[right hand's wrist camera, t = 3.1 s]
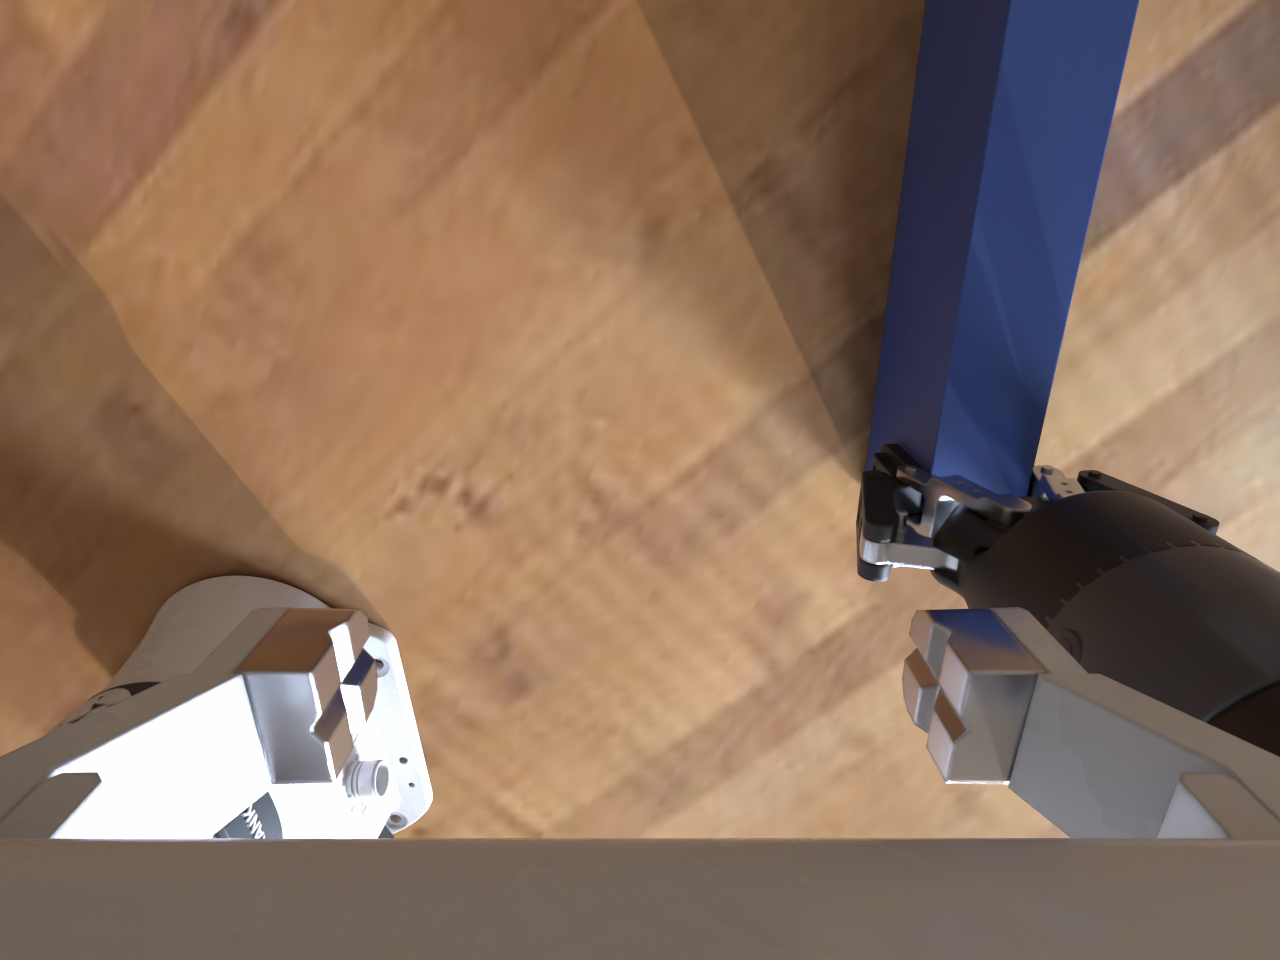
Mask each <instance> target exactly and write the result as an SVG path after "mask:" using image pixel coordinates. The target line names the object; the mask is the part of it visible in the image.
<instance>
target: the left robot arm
mask: <svg viewBox="0 0 1280 960" xmlns="http://www.w3.org/2000/svg"><path fill="white" fill-rule="evenodd" d="M922 494H923V496H924V499H925V503H924V509H923V511H921V510H919V508H920V502H921V496H922ZM959 503H960V504H959ZM1218 526H1219V522H1218V521H1217V520H1216V519H1214V518H1212V517H1209V516H1207V515H1205V514H1202V513H1199V512H1197V511H1195V510H1192V509H1190V508H1187V507H1185V506H1182V505H1180V504H1177V503H1175V502H1172V501H1170V500H1168V499H1165V498H1163V497H1160V496H1158V495H1155V494H1153V493H1150V492H1148V491H1145V490H1143V489H1141V488H1138V487H1136V486H1133V485H1131V484H1128V483H1126V482H1123V481H1121V480H1119V479H1116V478H1114V477H1111V476H1109V475H1106V474H1104V473H1101V472H1099V471H1095V470H1089V471H1080V472H1079V474H1078V478H1077V480H1076V478H1068V477H1065V476H1064V474H1063V473H1062V471H1060V470H1059V469H1056V468H1054V467H1052V466H1048V465H1042V466H1034V467H1033V471H1032V476H1031V480H1030V484H1029V489H1028V493H1027V497H1016V496H1014V495H1012V494H1009V493H1007V494H1000V495H999V494H997V493H994V492H992V491H990V490H988V489H986V488H984V487H982V486H980V485H978V484H976V483H974V482H972V481H970V480H968V479H966V478H964V477H961V476H959V475H951V476H944V477H938V476H936V475H934V474H932V473H930V472H928V471H926V470H924V469H922V468H921V466H920V465H919V464H918V463H917V462H916V461H915V460H914V459H913V458H912V457H911V456H910V455H909V454H908V453H907V452H906V451H904V450H903V449H902V448H901V447H900V446H899V445H898V444H883V445H882V447H881V452H875V454H874V460H873V468H872V471H865V472H863V474H862V482H861V489H860V497H859V504H858V512H857V520H856V532H857V569H858V574H859V576H861V577H862V578H864V579H866V580H870V581H876V582H881V581H885V580H887V579H888V578H889V575H890V568H891V567H898V566H899V565H900V566H908V567H916V568H924V569H930V571H931V573H932V575H933V577H934V578H935V579H936V580H937V581H938V582H939V583H941V584H942V585H944V586H946V587H948V588H950V589H951V590H953V591H955V592H956V593H958V594H959V595H961V596H962V597H963V598H964V599H965V601H966V603H967V606H968V608H969V609H985V608H1007V607H1020V608H1023V609H1025V610H1028V611H1029V612H1030V613H1031V614H1032V615H1033V616H1034V617H1035V618H1036V619H1037V621H1038V622H1039V623H1040V624H1041V625H1042V626H1043V627H1044V628H1045V629H1046V630H1047V631H1048V632H1049V633H1050V634H1051V635H1052V636H1053V637H1054V638H1055V639H1056V640H1057V641H1058V642H1059V643H1060V645H1061V646H1062V647H1063V648H1064V649H1065V650H1066V651H1067V652H1068V653H1069V654H1070V655H1071V656H1072V657H1073V658H1074V659H1075V660H1076V661H1077V662H1078V663H1079V664H1080V665H1081V666H1082V667H1083V668H1084V670H1085V671H1086V672H1087V673H1088V674H1101V675H1104V676H1106V677H1108V678H1110V679H1112V680H1114V681H1117V682H1119V683H1121V684H1123V685H1125V686H1127V687H1130V688H1132V689H1134V690H1136V691H1138V692H1140V693H1143V694H1145V695H1147V696H1149V697H1151V698H1153V699H1155V700H1158V701H1160V702H1162V703H1164V704H1166V705H1168V706H1171V707H1173V708H1175V709H1177V710H1179V711H1181V712H1184V713H1186V714H1188V715H1190V716H1192V717H1194V718H1196V719H1199V720H1201V721H1203V722H1205V723H1207V724H1209V725H1212V726H1214V727H1216V728H1218V729H1220V730H1222V731H1225V732H1227V733H1229V734H1231V735H1233V736H1235V737H1237V738H1240V739H1242V740H1244V741H1246V742H1248V743H1250V744H1253V745H1255V746H1257V747H1259V748H1261V749H1263V750H1266V751H1268V752H1270V753H1272V754H1274V755H1276V756H1279V757H1280V572H1278V571H1276V570H1275V569H1273V568H1271V567H1270V566H1268V565H1266V564H1265V563H1263V562H1261V561H1259V560H1258V559H1256V558H1254V557H1252V556H1251V555H1249V554H1247V553H1246V552H1244V551H1242V550H1240V549H1239V548H1237V547H1235V546H1234V545H1232V544H1230V543H1228V542H1227V541H1225V540H1223V539H1222V538H1220V537H1218V536H1217V535H1216V532H1217V529H1218Z"/></svg>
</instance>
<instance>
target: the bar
mask: <svg viewBox="0 0 1280 960" xmlns="http://www.w3.org/2000/svg"><path fill="white" fill-rule="evenodd" d="M1138 3H1139V0H926V5H925V13H924V21H923V29H922V36H921V44H920V52H919V60H918V67H917V75H916V83H915V90H914V98H913V106H912V114H911V121H910V129H909V137H908V144H907V152H906V160H905V168H904V175H903V183H902V191H901V198H900V206H899V214H898V222H897V229H896V237H895V245H894V252H893V260H892V268H891V276H890V283H889V291H888V299H887V307H886V314H885V322H884V330H883V337H882V345H881V353H880V361H879V368H878V376H877V384H876V391H875V399H874V407H873V415H872V422H871V430H870V438H869V445H868V453H867V461H866V469H865V471H872V468H873V460H874V454H875V452H881V447H882V445H883V444H898V445H899V446H900V447H901V448H902V449H903V450H904V451H906V452H907V453H908V454H909V455H910V456H911V457H912V458H913V459H914V460H915V461H916V462H917V463H918V464H919V465H920V466H921V468H922V469H924V470H926V471H928V472H930V473H932V474H934V475H936V476H938V477H944V476H951V475H959V476H961V477H964V478H966V479H968V480H970V481H972V482H974V483H976V484H978V485H980V486H982V487H984V488H986V489H988V490H990V491H992V492H994V493H997V494H999V495H1000V494H1007V493H1009V494H1012V495H1014V496H1016V497H1027V493H1028V489H1029V484H1030V480H1031V476H1032V471H1033V467H1034V462H1035V458H1036V454H1037V449H1038V445H1039V440H1040V436H1041V431H1042V427H1043V423H1044V418H1045V414H1046V409H1047V405H1048V401H1049V396H1050V392H1051V387H1052V383H1053V378H1054V374H1055V370H1056V365H1057V361H1058V356H1059V352H1060V348H1061V343H1062V339H1063V334H1064V330H1065V326H1066V321H1067V317H1068V312H1069V308H1070V303H1071V299H1072V295H1073V290H1074V286H1075V281H1076V277H1077V273H1078V268H1079V264H1080V259H1081V255H1082V250H1083V246H1084V242H1085V237H1086V233H1087V228H1088V224H1089V220H1090V215H1091V211H1092V206H1093V202H1094V198H1095V193H1096V189H1097V184H1098V180H1099V175H1100V171H1101V167H1102V162H1103V158H1104V153H1105V149H1106V145H1107V140H1108V136H1109V131H1110V127H1111V122H1112V118H1113V114H1114V109H1115V105H1116V100H1117V96H1118V92H1119V87H1120V83H1121V78H1122V74H1123V69H1124V65H1125V61H1126V56H1127V52H1128V47H1129V43H1130V39H1131V34H1132V30H1133V25H1134V21H1135V17H1136V12H1137V8H1138ZM924 503H925V499H924V496H923V494H922V496H921V502H920V508H919V510H921V511H923V509H924ZM959 504H960V503H959Z"/></svg>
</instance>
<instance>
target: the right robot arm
mask: <svg viewBox="0 0 1280 960" xmlns="http://www.w3.org/2000/svg"><path fill="white" fill-rule="evenodd" d="M909 635H910V637H911V638H912V640H913V642H914V643H915V645H916V647H917V648H916V649H915V650H914V651H913V652H912V653H911V654H910V655H909V656H908V657H907V658H906V659H905V662H904V669H903V677H902V683H903V694H904V700H905V703H906V707H907V710H908V713H909V715H910V717H911V719H912V721H913V723H914V724H915V725H916V726H918V727H919V728H921V729H922V730H924V731H925V732H927V733H928V740H927V745H926V747H927V749H928V751H929V753H930V755H931V757H932V759H933V761H934V762H935V764H936V766H937V768H938V770H939V772H940V774H941V776H942V777H943V779H944V781H945V783H963V784H999V785H1009V787H1008V788H1009V789H1011V790H1012V791H1013V792H1014V793H1016V794H1017V795H1018V796H1019V797H1021V798H1022V799H1023V800H1024V801H1026V802H1027V803H1028V804H1029V805H1031V806H1032V807H1033V808H1034V809H1036V810H1037V811H1038V812H1039V813H1041V814H1042V815H1043V816H1044V817H1046V818H1047V819H1048V820H1049V821H1051V822H1052V823H1053V824H1054V825H1056V826H1057V827H1058V828H1059V829H1061V830H1062V831H1063V832H1064V833H1065V834H1067V835H1068V836H1069V837H1070V838H394V836H393V835H392V834H393V833H396V832H398V831H400V830H402V829H404V828H406V827H407V826H409V825H410V824H412V823H414V822H415V821H416V820H418V819H419V818H420V817H421V816H422V815H423V814H424V813H425V812H426V811H427V810H428V808H429V806H430V804H431V802H432V800H433V794H432V788H431V784H430V780H429V775H428V771H427V767H426V763H425V759H424V755H423V750H422V746H421V742H420V738H419V734H418V729H417V725H416V721H415V717H414V713H413V709H412V704H411V700H410V696H409V692H408V688H407V683H406V679H405V675H404V671H403V667H402V663H401V658H400V654H399V650H398V646H397V642H396V639H395V638H394V636H393V635H392V634H391V633H390V632H389V631H388V630H386V629H384V628H382V627H380V626H378V625H375V624H371V623H368V618H367V615H366V614H365V613H364V612H363V611H362V610H361V609H332V608H330V607H329V606H327V605H326V604H324V603H323V602H321V601H319V600H318V599H316V598H315V597H313V596H311V595H309V594H307V593H305V592H303V591H301V590H299V589H297V588H295V587H292V586H289V585H287V584H284V583H281V582H277V581H274V580H270V579H265V578H260V577H252V576H221V577H214V578H210V579H205V580H202V581H199V582H196V583H193V584H191V585H189V586H187V587H185V588H183V589H181V590H180V591H178V592H177V593H175V594H174V595H173V596H171V597H170V598H169V599H168V600H167V601H166V602H165V603H164V604H163V605H162V606H161V608H160V609H159V610H158V612H157V613H156V615H155V617H154V619H153V621H152V623H151V625H150V627H149V629H148V631H147V633H146V634H145V636H144V638H143V639H142V641H141V642H140V644H139V645H138V647H137V648H136V650H135V651H134V652H133V653H132V655H131V656H130V657H129V659H128V660H127V661H126V663H125V664H124V665H123V667H122V668H121V669H120V670H119V671H118V673H117V674H116V675H115V676H114V677H113V679H112V680H111V681H110V682H109V683H108V684H107V686H106V687H105V688H104V689H103V690H102V691H101V692H100V693H98V694H96V695H95V696H93V697H92V698H90V699H89V700H87V701H86V702H85V703H84V704H82V705H81V706H79V707H78V708H77V709H75V710H74V711H73V712H71V713H70V714H69V715H67V716H66V717H65V718H64V719H63V720H61V721H60V722H59V723H58V724H57V725H56V726H54V727H53V728H52V729H51V730H50V731H49V732H48V733H47V734H46V735H45V736H44V737H42V738H40V739H38V740H36V741H33V742H31V743H29V744H27V745H25V746H23V747H20V748H18V749H16V750H14V751H12V752H10V753H8V754H5V755H3V756H1V757H0V960H1280V757H1279V756H1276V755H1274V754H1272V753H1270V752H1268V751H1266V750H1263V749H1261V748H1259V747H1257V746H1255V745H1253V744H1250V743H1248V742H1246V741H1244V740H1242V739H1240V738H1237V737H1235V736H1233V735H1231V734H1229V733H1227V732H1225V731H1222V730H1220V729H1218V728H1216V727H1214V726H1212V725H1209V724H1207V723H1205V722H1203V721H1201V720H1199V719H1196V718H1194V717H1192V716H1190V715H1188V714H1186V713H1184V712H1181V711H1179V710H1177V709H1175V708H1173V707H1171V706H1168V705H1166V704H1164V703H1162V702H1160V701H1158V700H1155V699H1153V698H1151V697H1149V696H1147V695H1145V694H1143V693H1140V692H1138V691H1136V690H1134V689H1132V688H1130V687H1127V686H1125V685H1123V684H1121V683H1119V682H1117V681H1114V680H1112V679H1110V678H1108V677H1106V676H1104V675H1101V674H1088V673H1087V672H1086V671H1085V670H1084V668H1083V667H1082V666H1081V665H1080V664H1079V663H1078V662H1077V661H1076V660H1075V659H1074V658H1073V657H1072V656H1071V655H1070V654H1069V653H1068V652H1067V651H1066V650H1065V649H1064V648H1063V647H1062V646H1061V645H1060V643H1059V642H1058V641H1057V640H1056V639H1055V638H1054V637H1053V636H1052V635H1051V634H1050V633H1049V632H1048V631H1047V630H1046V629H1045V628H1044V627H1043V626H1042V625H1041V624H1040V623H1039V622H1038V621H1037V619H1036V618H1035V617H1034V616H1033V615H1032V614H1031V613H1030V612H1029V611H1028V610H1025V609H1023V608H1020V607H1007V608H985V609H948V610H916V612H915V614H914V616H913V618H912V622H911V627H910V632H909ZM375 659H379V660H381V661H382V662H383V663H379V662H377V661H376V660H375Z"/></svg>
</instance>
